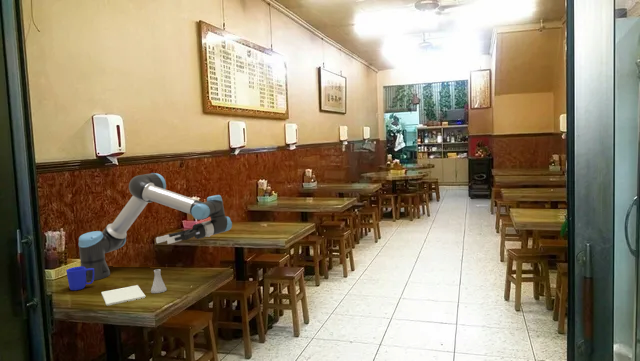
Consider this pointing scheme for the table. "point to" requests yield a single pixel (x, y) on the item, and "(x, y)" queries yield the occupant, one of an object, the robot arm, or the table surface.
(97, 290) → the table surface
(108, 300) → the white rectangular board
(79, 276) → the mug
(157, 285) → the flask
